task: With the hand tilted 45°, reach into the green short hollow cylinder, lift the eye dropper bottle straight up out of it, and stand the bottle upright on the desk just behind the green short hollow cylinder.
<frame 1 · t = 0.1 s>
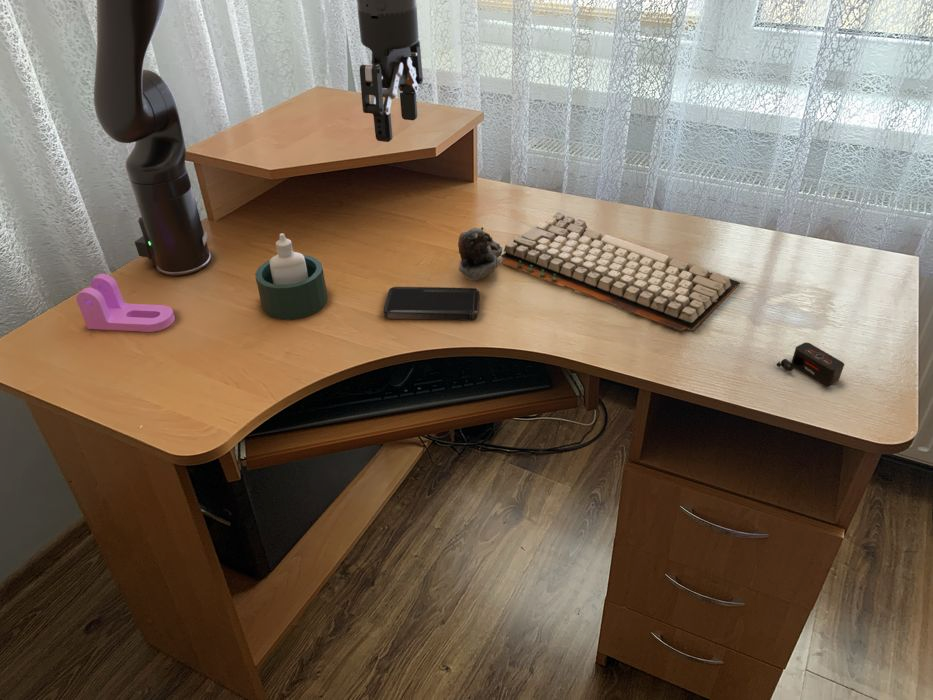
hand: (397, 129, 103), 29 cm above the table, tool pointing down, fingers open, 8 cm apart
bison figurine: (480, 270, 129), on the table
wireless earbuds: (805, 374, 103), on the table
green short hollow cylinder: (295, 301, 122), on the table
bracket: (135, 321, 119), on the table
eye dropper bottle: (294, 300, 122), resting on green short hollow cylinder
mechanical keyboard: (612, 273, 127), on the table
phone: (432, 306, 120), on the table
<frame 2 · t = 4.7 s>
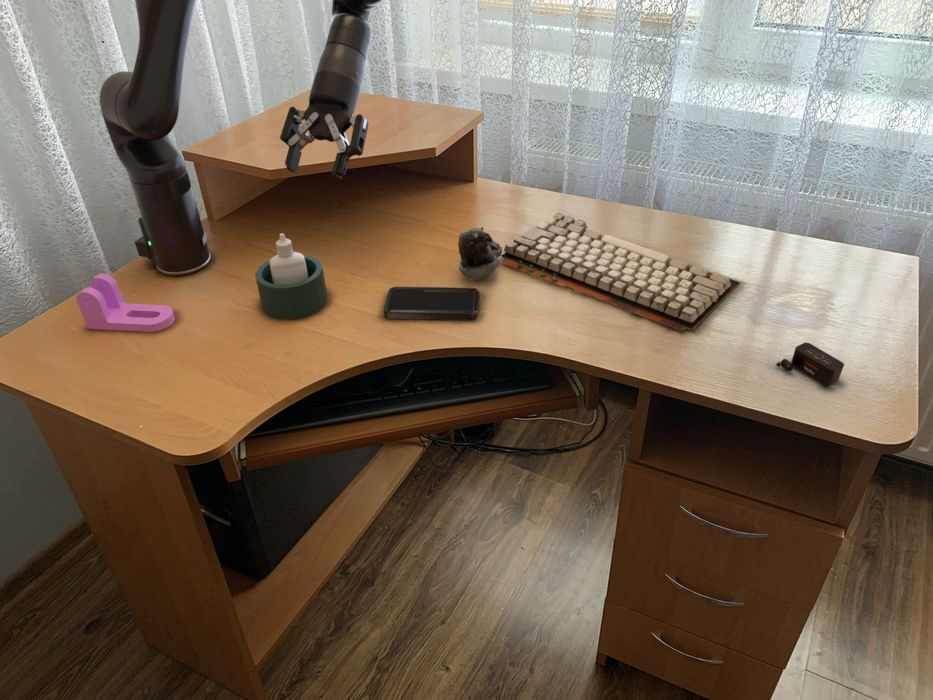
hand: (313, 174, 119), 18 cm above the table, tool tilted 45°, fingers open, 8 cm apart
nothing on the table moved.
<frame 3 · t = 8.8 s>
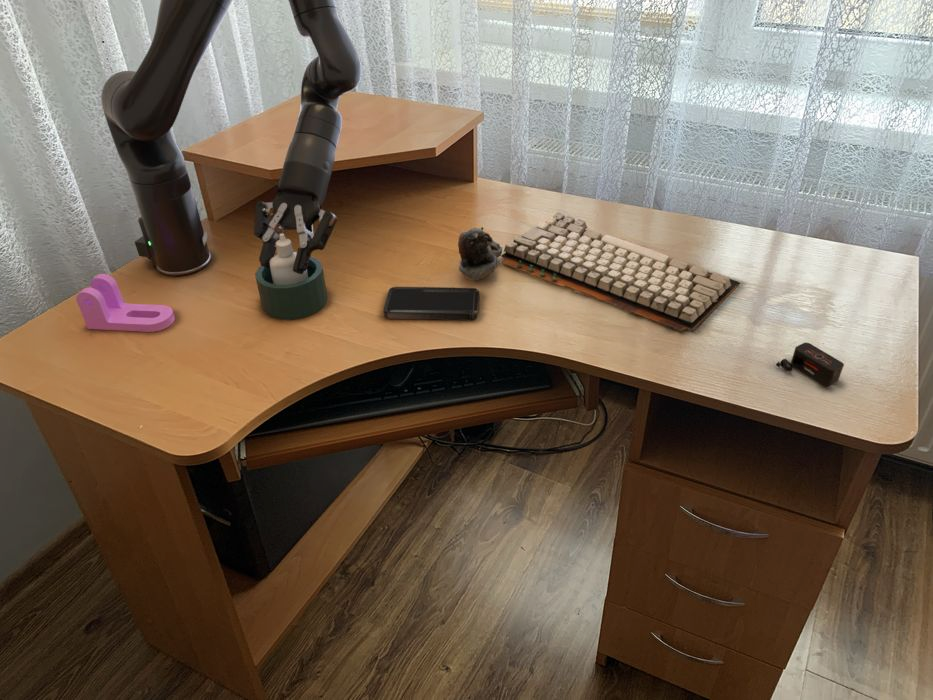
hand: (281, 269, 116), 7 cm above the table, tool tilted 45°, fingers closed on eye dropper bottle, 5 cm apart
eye dropper bottle: (294, 300, 122), resting on green short hollow cylinder, touching gripper
everything else where it was.
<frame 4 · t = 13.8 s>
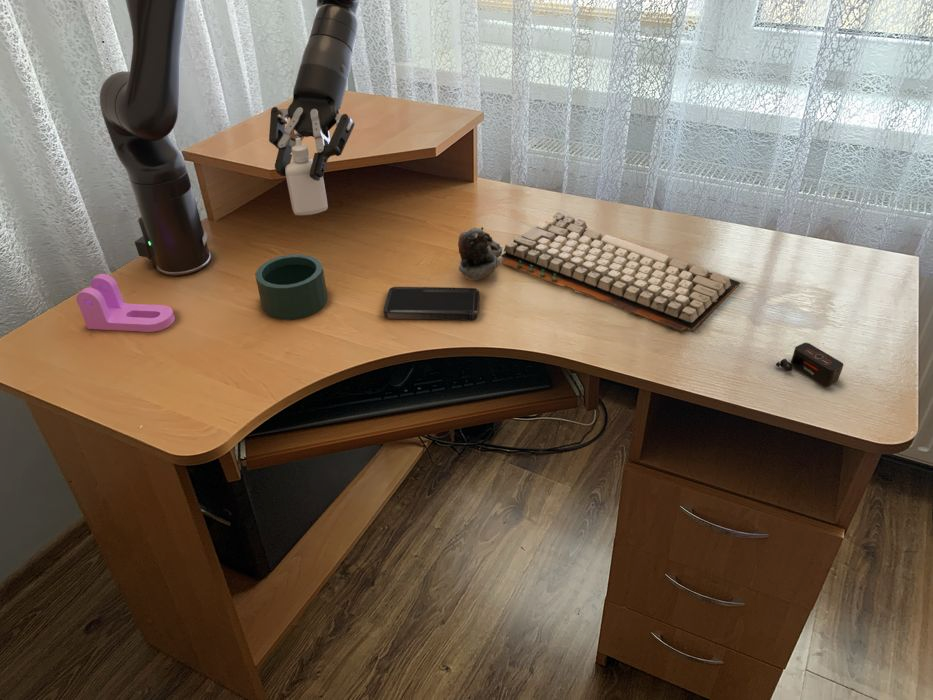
hand: (297, 176, 113), 20 cm above the table, tool tilted 45°, fingers closed on eye dropper bottle, 5 cm apart
eye dropper bottle: (310, 211, 119), point 13 cm above the table, touching gripper
everything else where it was.
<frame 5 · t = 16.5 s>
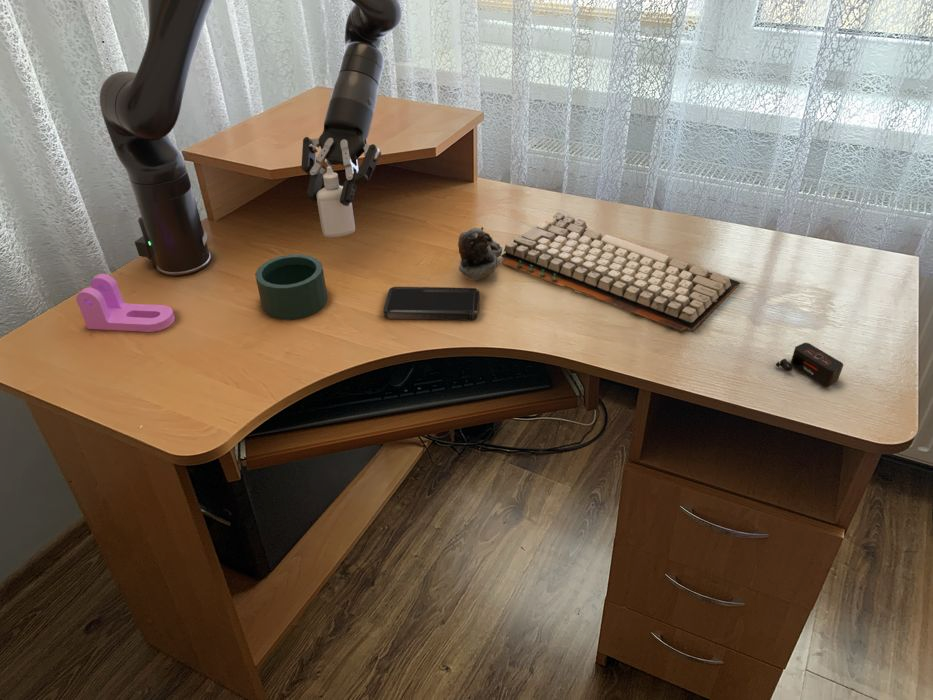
hand: (328, 201, 122), 13 cm above the table, tool tilted 45°, fingers closed on eye dropper bottle, 5 cm apart
eye dropper bottle: (339, 233, 127), point 6 cm above the table, touching gripper
everything else where it was.
when the fingers open (7 cm above the table, at t = 18.8 s): eye dropper bottle stays where it is, on the table.
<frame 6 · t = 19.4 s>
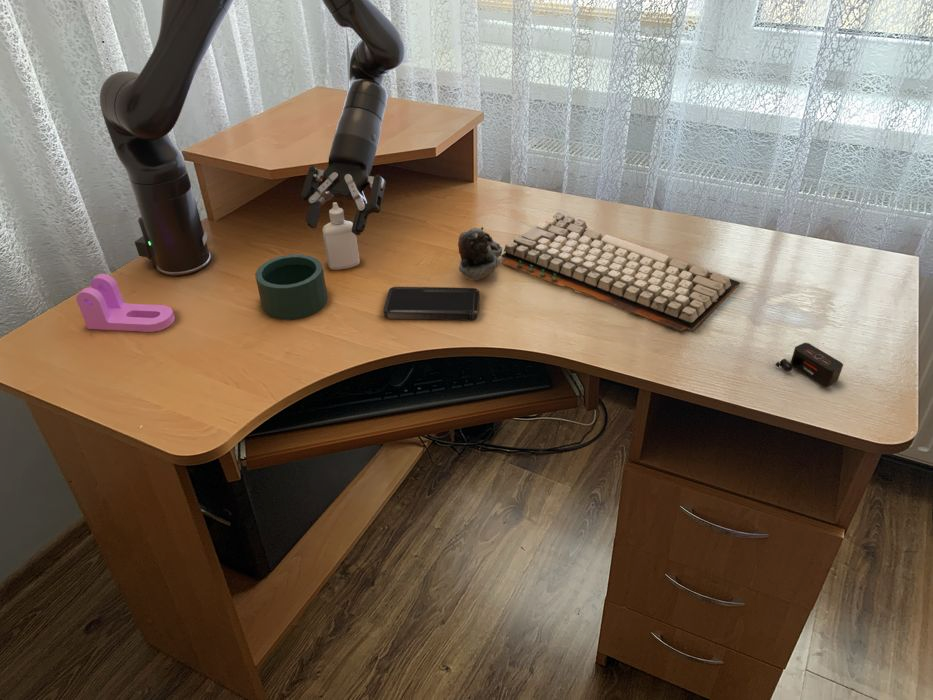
hand: (333, 230, 125), 8 cm above the table, tool tilted 45°, fingers open, 8 cm apart
eye dropper bottle: (344, 265, 131), on the table
everything else where it was.
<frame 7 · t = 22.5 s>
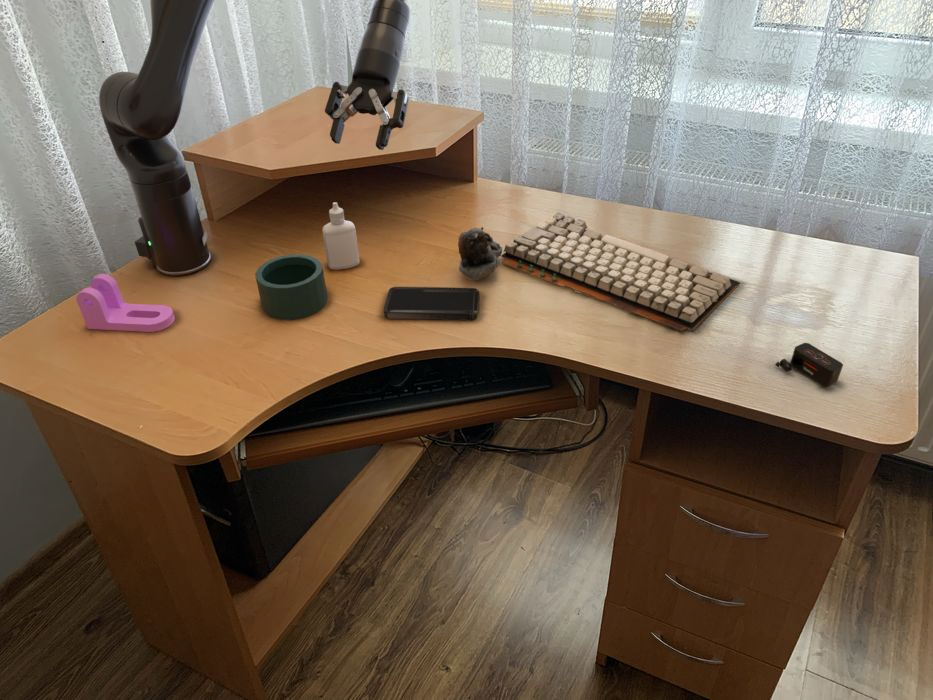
hand: (356, 145, 128), 18 cm above the table, tool tilted 45°, fingers open, 8 cm apart
nothing on the table moved.
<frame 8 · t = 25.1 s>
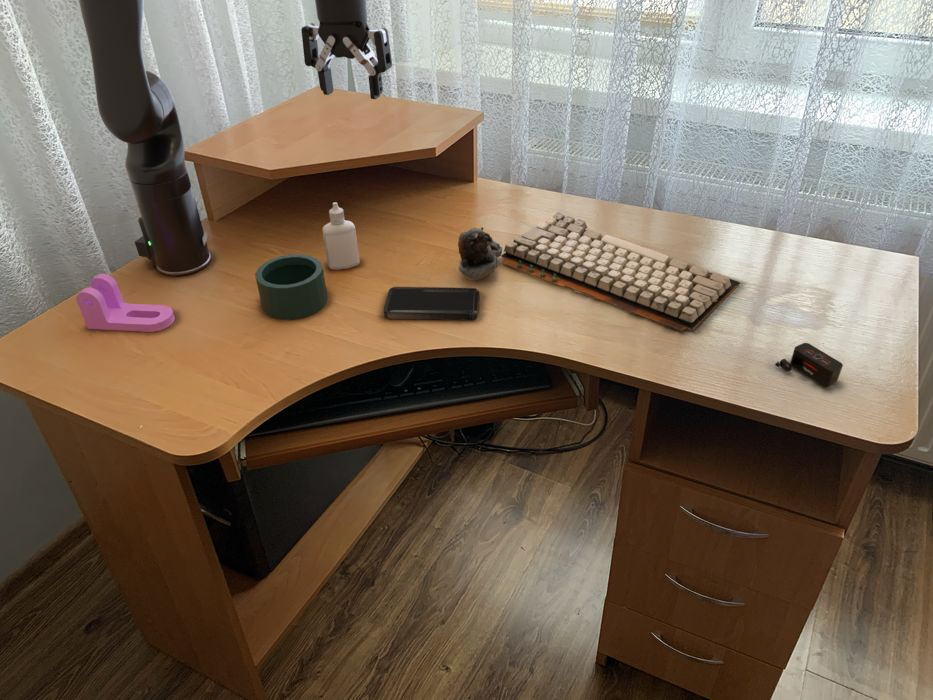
hand: (351, 95, 119), 28 cm above the table, tool pointing down, fingers open, 8 cm apart
nothing on the table moved.
at the end: eye dropper bottle inside the target area (0.2 cm from its centre), on the table; eye dropper bottle tilted 0°; eye dropper bottle touching table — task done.
